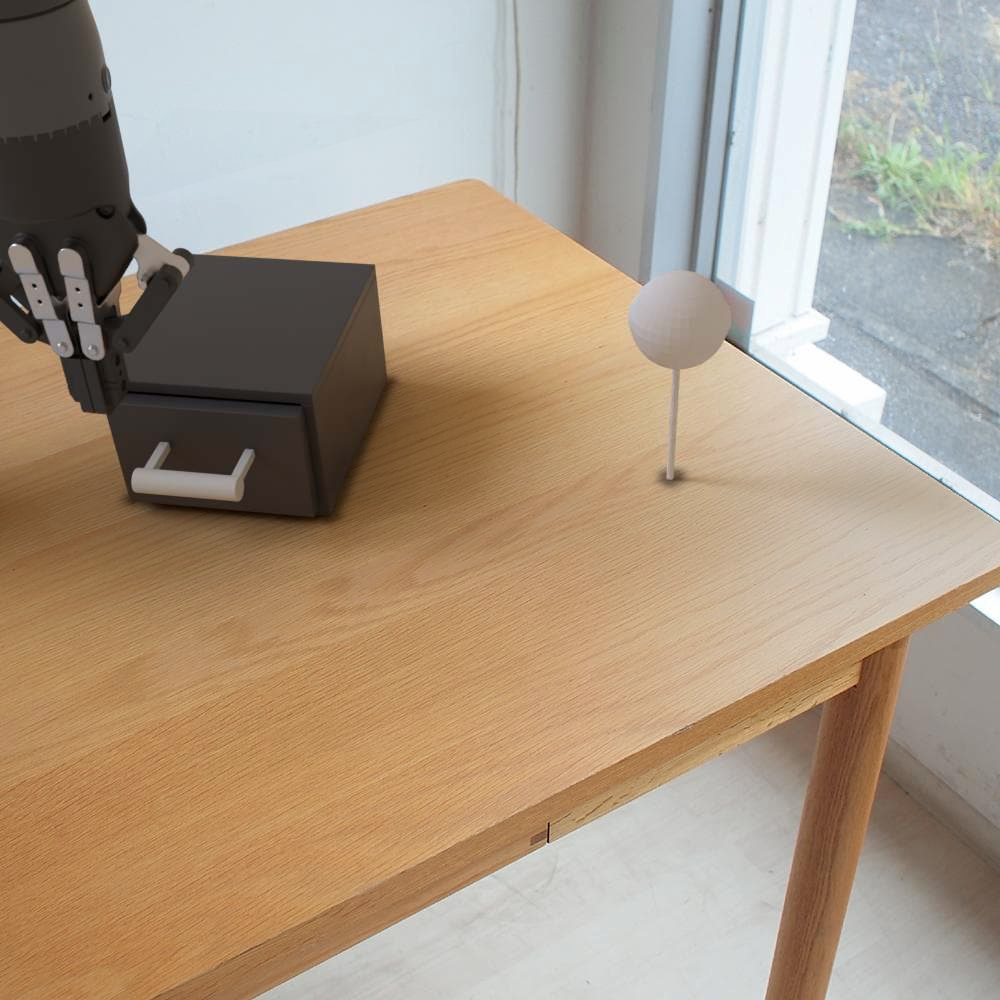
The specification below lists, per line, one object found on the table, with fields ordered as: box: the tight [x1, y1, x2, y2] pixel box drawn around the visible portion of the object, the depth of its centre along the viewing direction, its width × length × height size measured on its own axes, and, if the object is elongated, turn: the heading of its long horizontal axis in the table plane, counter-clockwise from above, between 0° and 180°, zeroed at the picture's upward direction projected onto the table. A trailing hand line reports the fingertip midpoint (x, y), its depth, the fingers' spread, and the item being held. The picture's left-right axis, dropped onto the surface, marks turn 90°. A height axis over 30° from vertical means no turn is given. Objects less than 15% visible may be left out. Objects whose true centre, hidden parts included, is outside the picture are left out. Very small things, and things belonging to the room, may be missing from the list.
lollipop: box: [626, 269, 733, 481], centre depth 82 cm, size 6×6×15 cm
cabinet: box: [123, 253, 388, 517], centre depth 89 cm, size 16×14×10 cm
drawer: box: [105, 391, 319, 518], centre depth 86 cm, size 19×12×8 cm, turn 170°
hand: (104, 404), depth 71 cm, fingers closed
